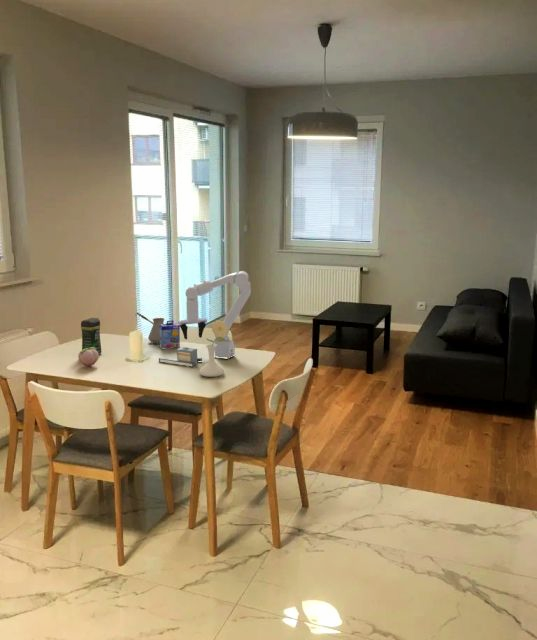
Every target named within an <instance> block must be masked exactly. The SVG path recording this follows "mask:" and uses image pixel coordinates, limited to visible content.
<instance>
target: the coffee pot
mask: <svg viewBox="0 0 537 640" xmlns="http://www.w3.org/2000/svg"><path fill="white" fill-rule="evenodd" d="M134 316H135V317H136V316H138V317H141V318H142V319H144V320H146V321H147V322H149V323H150V324H152V327H151V329H150V331H149V335H148V340H149V342H150V343H152V342H153V343H160V324H165V323H164V322H165V319H166V318H164V317H155V318H152V320H150V319H149V318H148V317H146V316H144V315H142V313H140V312H136V313H135V314H134ZM153 343H152V344H153Z"/></svg>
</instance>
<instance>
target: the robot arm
mask: <svg viewBox="0 0 537 640" xmlns="http://www.w3.org/2000/svg"><path fill="white" fill-rule="evenodd" d="M226 284H231V285H234V284H236V286H237V287H238V290H239V293H240V294H239V295H238V297H237V299H235V301H234V302H233V305H232V306H231V308H230V310H229V312H228V313H227V315H226V316H225V318H224V320H223V322H224V323H225V324H226V326H227V327H228V329H227V330H228V331H227V334H226V335H225V336H224V337H223V338H224V339H225V340H224V341H222V342H219V341H218V340H217V339H216V340H215V339H214V340H215V342H214V344H216V345H217V346H216V348H215V351H214V355H215V356H218V357H227V358H229V357H231V356H233V355H235V356H236V351H235V349H236V347H235V342H234V340H231V339H230V337H229V336H228V335H229V332H230V329H231V327H232V325H233V324H234V322H235V321H236V319H237V317H238V316H239V314H240V313H241V311H242V309H243V307H244V306H245V304H246V302H247V301H248V300H249V297H250V296H251V292H252V291H251V290H252V289H251V278H250V275H249V273H248V272H246V271H244V270H241V271H240V270H239V271H238V272H232V273H230V274H227V275H225V276H222V277H220V278H217V279H215V280H212V281H211V280H209V279H207V280H206V279H204V280H203V281H202V282H200V283H197V284H196V283H194V284H193V285H192V286H191V285H190V286H189V287H188V288H187V289H185V290H186V291H185V297H186V303H185V304H186V318H185V319H183V320H177V324H178V325H180V329H181V331H182V334H183V338H184V340H187V339H188V328H189V327H188V325H193V324H194V325H195V324H197V328H198V338H200V339H201V338H202V337H203V333H204V330H205V328H206V326H207V323H208V318H206V317H204V318H200V317H199V297H201V296H204V295H206V294H208V293H212V292H213V291H214V289H215V288H218V287H220V286H222V285H226ZM214 337H215V338H216V336H215V335H214ZM217 337H218V336H217Z"/></svg>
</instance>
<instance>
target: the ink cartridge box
mask: <svg viewBox="0 0 537 640" xmlns="http://www.w3.org/2000/svg"><path fill="white" fill-rule="evenodd" d="M180 329H181V327H180V325H178V322H174V320H167V321H166V323H164V324H160V344H159V347H160V348H161V349H162V348H167V349H172V348H171V347H178V348H181V346H180V345H181V343H180V342H181V341H180V340H181V336H180V335H181V334H180V333H181V332H180V331H181V330H180Z"/></svg>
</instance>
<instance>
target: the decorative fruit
mask: <svg viewBox="0 0 537 640" xmlns="http://www.w3.org/2000/svg"><path fill="white" fill-rule="evenodd" d="M95 349H97V348H95V347H90V348H86V349H83V350H82V349H81V350H80V351H79V352H78V354H77V355H78V356H77V357H78V361H79V362H80V364H81V365H83V366H85V367H87V368H91V367H92V366H93V365H95V364H96V363H97V362H98V360H99V357H100V354H98V352H97V351H96V350H95Z"/></svg>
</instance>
